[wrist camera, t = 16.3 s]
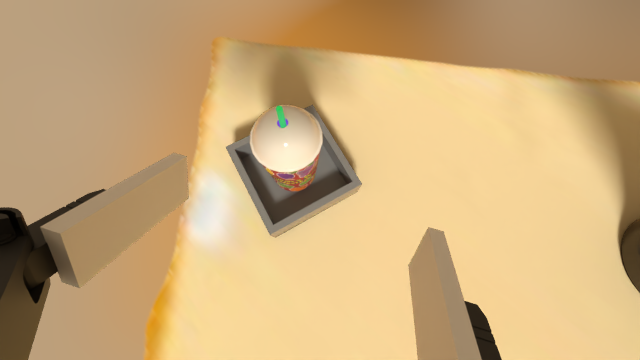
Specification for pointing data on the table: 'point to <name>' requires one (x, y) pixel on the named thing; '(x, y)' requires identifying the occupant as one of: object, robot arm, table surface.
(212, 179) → the table surface
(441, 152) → the table surface
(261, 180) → the holder tray
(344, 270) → the table surface
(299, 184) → the smoothie
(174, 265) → the table surface
